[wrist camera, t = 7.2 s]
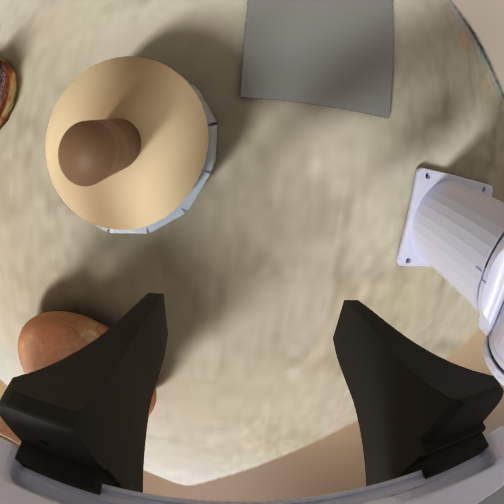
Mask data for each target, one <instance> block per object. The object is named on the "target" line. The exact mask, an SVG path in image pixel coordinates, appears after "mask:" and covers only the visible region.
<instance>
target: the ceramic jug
mask: <svg viewBox="0 0 504 504" xmlns="http://www.w3.org/2000/svg"><path fill="white" fill-rule="evenodd" d="M108 329H109V327H107V326H105V325H104V324H102V323H100V322H98V321H96V320H94V319H92V318H89V317H86V316H84V315H81V314H77V313H73V312H66V311H50V312H46V313H42V314H40V315H37V316H35V317H33V318H32V319H31V320H29V321H28V322H27V323H26V324H25V325H24V327H23V329H22V331H21V333H20V336H19V340H18V354H19V359H20V363H21V366H22V368H23V370H24V373H25V374H27V373H30V372H33V371H36V370H39V369H42V368H44V367H46V366H49V365H51V364H53V363H56V362H58V361H60V360H62V359H64V358H66V357H67V356H69V355H71V354H73V353H75V352H76V351H78V350H80V349H82V348H83V347H85V346H86V345H88V344H89V343H91V342H92V341H94V340H95V339H97V338H98V337H99V336H101V335H102V334H103V333H105V332H106V331H107V330H108ZM155 403H156V388H155V389H154V393H153V396H152V400H151V404H150V409H149V415H150V413H151V412H152V410H153V408H154V406H155ZM0 437H1V438H3V439H5V440H7V441H9V442H11V443H12V444H14V445H15V446H17V447H18V448H19V446H20V444H21V441H20V439H19V438H18V437H17V436H16V435H15V434H14V433H13V432H12V430H11V429H10V428H9V427H8V426H7V424H6V423H5V422H4V421H3V419H2V418H1V416H0Z"/></svg>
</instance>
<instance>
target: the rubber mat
mask: <svg viewBox="0 0 504 504" xmlns="http://www.w3.org/2000/svg"><path fill="white" fill-rule="evenodd" d="M392 75H393V0H248V2H247V14H246V26H245V38H244V51H243V64H242V78H241V92H240V97H244V98H259V99H272V100H282V101H291V102H300V103H308V104H315V105H322V106H328V107H334V108H340V109H346V110H351V111H356V112H361V113H366V114H371V115H375V116H380V117H384V118H389V116H390V105H391V92H392Z"/></svg>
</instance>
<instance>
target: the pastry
mask: <svg viewBox="0 0 504 504" xmlns="http://www.w3.org/2000/svg"><path fill="white" fill-rule="evenodd" d="M16 93H17V77H16V73H15V71H14V70H13V68H12V67H11V65H10V64H9V62H8V61H7V60H6V59H3V58H0V129H1V128H2V127H3V125H4V124H5V123H6V122H7V121H8V119H9V117H10V115H11V112H12V110H13V107H14V102H15V98H16Z"/></svg>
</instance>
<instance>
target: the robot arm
mask: <svg viewBox="0 0 504 504" xmlns="http://www.w3.org/2000/svg"><path fill="white" fill-rule="evenodd" d="M426 173H428V176H427V178H426ZM482 188H483V190H482ZM492 194H493V187H492V186H491V185H488V184H485V183H481V182H478V181H474V180H471V179H467V178H463V177H460V176H456V175H452V174H448V173H444V172H440V171H436V170H431V169H427V168H422V167H420V168H418V169H417V170H416V174H415V180H414V186H413V191H412V196H411V201H410V206H409V211H408V215H407V220H406V224H405V228H404V232H403V236H402V240H401V244H400V248H399V252H398V256H397V263H398V264H399V265H401V266H432V267H433V268H434V269H435V270H436V271H437V272H438V273H439V274H440V275H442V276H443V277H444V278H445V279H446V280H447V281H448V282H449V283H450V284H451V285H452V286H453V287H454V288H455V289H456V290H457V291H458V292H459V293H460V294H461V295H462V296H463V297H464V298H465V299H466V300H467V301H468V302H469V303H470V304H471V305H472V306H473V307H474V308H475V309H476V310H477V311H478V312H479V313H480V319H479V322H478V327H479V328H480V329H481V330H482V331H483V332H484V333H485V335H486V338H485V341H484V345H483V354H484V358H485V361H486V363H487V366H488V368H489V369H490V371H491V373H492V374H493V375H494V376H491V375H487V374H483V373H480V372H476V371H472V370H469V369H467V368H464V367H461V366H458V365H456V364H453V363H451V362H449V361H447V360H445V359H443V358H441V357H438V356H436V355H435V354H433V353H431V352H429V351H427V350H426V349H424V348H422V347H421V346H419V345H417V344H416V343H414V342H413V341H411V340H410V339H408V338H407V337H405V336H404V335H403V334H401V333H400V332H398V331H397V330H396V329H394V328H393V327H392V326H391V325H389V324H388V323H387V322H385V321H384V320H383V319H382V318H380V317H379V316H378V315H377V314H375V313H374V312H373V311H372V310H370V309H369V308H368V307H366V306H365V305H364V304H362V303H361V302H359V301H358V300H344V303H343V306H342V310H341V313H340V317H339V320H338V324H337V327H336V330H335V333H334V337H333V340H334V345H335V350H336V354H337V358H338V361H339V364H340V367H341V369H342V372H343V375H344V377H345V380H346V383H347V385H348V388H349V391H350V393H351V396H352V399H353V402H354V405H355V408H356V413H357V417H358V422H359V426H360V431H361V438H362V443H363V451H364V460H365V471H366V487H362V488H357V489H353V490H348V491H343V492H338V493H333V494H327V495H320V496H313V497H305V498H296V499H286V500H274V501H248V502H247V501H246V502H245V501H244V502H237V501H236V502H235V501H234V502H233V501H232V502H231V501H205V500H193V499H182V498H173V497H166V496H159V495H152V494H146V493H143V464H144V450H145V439H146V430H147V423H148V416H149V409H150V404H151V400H152V396H153V393H154V389H155V386H156V382H157V379H158V375H159V372H160V368H161V365H162V361H163V358H164V354H165V348H166V342H167V335H168V333H167V324H166V315H165V305H164V294H156V293H148V294H147V295H146V296H145V297H144V298H143V299H141V300H140V301H139V302H138V303H137V304H136V305H135V306H134V307H133V308H132V309H131V310H130V311H129V312H128V313H127V314H126V315H124V316H123V317H122V318H121V319H120V320H119V321H118V322H117V323H115V324H114V325H113V326H112V327H111V328H109V329H108V330H107V331H106V332H105V333H103V334H102V335H101V336H99V337H98V338H97V339H95V340H94V341H92V342H91V343H89V344H88V345H86V346H85V347H83V348H82V349H80V350H78V351H76V352H75V353H73V354H71V355H69V356H67V357H66V358H64V359H62V360H60V361H58V362H56V363H53V364H51V365H49V366H46V367H44V368H42V369H39V370H36V371H33V372H30V373H27V374H24V375H21V376H18V377H14V378H12V380H11V382H10V383H9V385H8V387H7V389H6V390H5V392H4V394H3V396H2V398H1V400H0V416H1V418H2V419H3V421H4V422H5V423H6V424H7V426H8V427H9V428H10V429H11V430H12V432H13V433H14V434H15V435H16V436H17V437H18V438H19V439H20V441H21V444H20V446H19V448H18V447H17V446H15V445H14V444H12V443H11V442H9V441H7V440H5V439H3V438H1V437H0V504H477V503H478V502H480V501H481V500H483V499H484V498H486V497H487V496H489V495H491V494H492V493H493V492H495V491H496V490H498V489H499V488H501V487H502V486H503V485H504V426H502V427H500V428H498V429H496V430H495V431H493V432H491V433H490V434H488V435H487V436H486V437H484V435H483V433H482V432H483V431H484V430H485V425H484V424H483V421H484V420H485V419H486V418H487V417H488V415H489V414H490V413H491V412H492V411H493V410H494V408H495V407H496V406H497V404H498V403H499V402H500V400H501V398H502V396H503V392H504V391H503V388H502V387H501V385H500V384H499V382H500V383H501V384H502V385H503V386H504V202H501V201H499V200H497V199H495V198H493V197H492ZM407 258H409V259H408V260H407V261H406V259H407ZM496 379H497V380H498V381H499V382H498V381H497V380H496Z"/></svg>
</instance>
